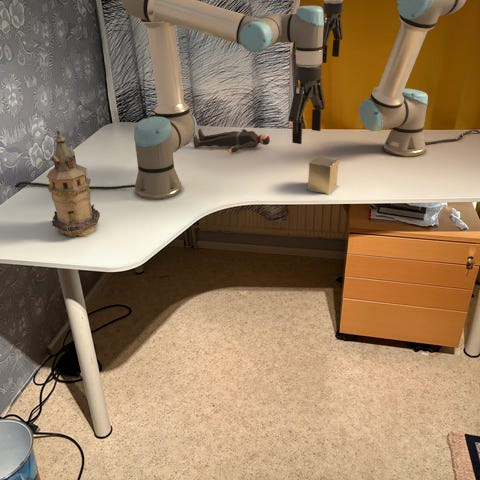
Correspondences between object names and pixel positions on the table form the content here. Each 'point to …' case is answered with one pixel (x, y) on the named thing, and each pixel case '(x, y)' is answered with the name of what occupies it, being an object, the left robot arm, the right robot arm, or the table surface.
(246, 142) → the toy
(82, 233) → the miniature building
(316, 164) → the block
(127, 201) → the table surface
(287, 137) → the table surface
